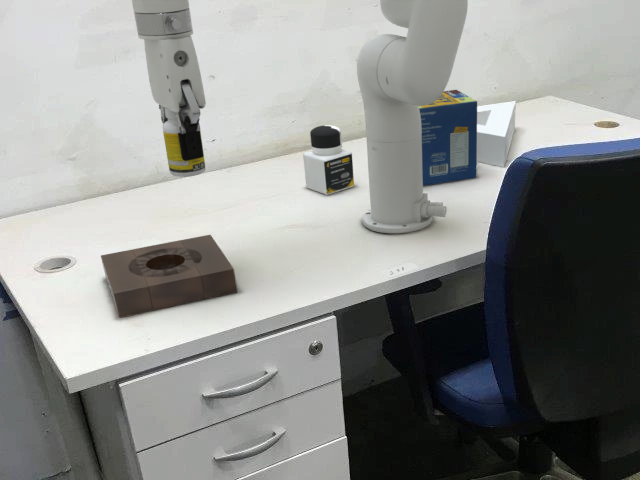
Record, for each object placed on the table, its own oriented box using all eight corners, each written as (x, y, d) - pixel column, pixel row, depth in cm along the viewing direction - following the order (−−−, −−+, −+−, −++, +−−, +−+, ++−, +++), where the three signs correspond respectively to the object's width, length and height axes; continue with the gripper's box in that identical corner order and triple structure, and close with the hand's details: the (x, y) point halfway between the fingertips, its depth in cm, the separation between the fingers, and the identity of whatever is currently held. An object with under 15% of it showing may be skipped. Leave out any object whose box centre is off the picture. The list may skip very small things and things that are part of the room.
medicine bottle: (327, 195, 166) (321, 134, 160) (305, 187, 171) (299, 128, 165) (354, 186, 170) (350, 126, 164) (333, 179, 175) (328, 120, 169)
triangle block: (396, 145, 194) (395, 117, 190) (464, 119, 210) (464, 93, 206) (504, 167, 176) (505, 136, 173) (569, 137, 192) (571, 109, 189)
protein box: (389, 174, 176) (386, 98, 168) (458, 164, 179) (458, 88, 171) (406, 189, 167) (403, 109, 159) (477, 178, 171) (478, 99, 163)
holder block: (214, 256, 143) (210, 234, 141) (237, 292, 130) (233, 268, 128) (106, 278, 137) (100, 255, 135) (119, 317, 125) (113, 293, 122)
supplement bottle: (198, 178, 125) (187, 110, 120) (164, 177, 126) (152, 110, 121) (211, 167, 129) (202, 101, 124) (178, 166, 130) (168, 101, 125)
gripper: (213, 27, 112) (231, 162, 122) (168, 15, 125) (187, 137, 134) (159, 35, 109) (182, 172, 118) (118, 21, 121) (142, 146, 131)
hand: (185, 152), depth 126 cm, fingers closed on supplement bottle, 5 cm apart
